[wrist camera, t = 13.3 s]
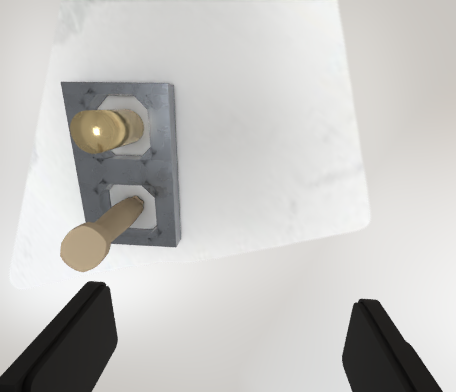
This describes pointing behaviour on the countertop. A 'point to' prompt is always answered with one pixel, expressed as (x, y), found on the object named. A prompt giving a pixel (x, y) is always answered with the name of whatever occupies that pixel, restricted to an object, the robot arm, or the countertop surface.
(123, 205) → the handle
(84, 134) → the brass pin
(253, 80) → the countertop surface
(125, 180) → the bolt plate
